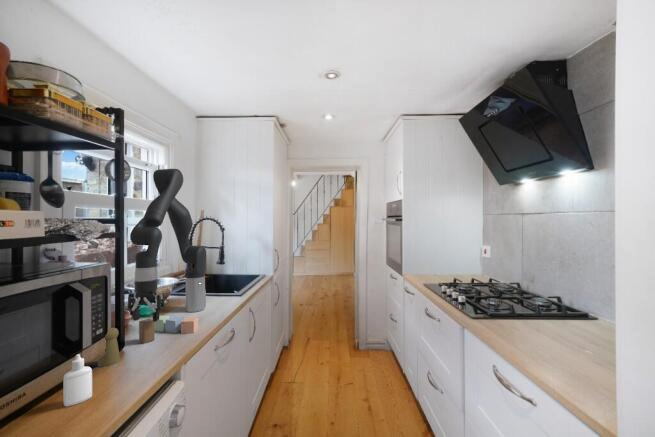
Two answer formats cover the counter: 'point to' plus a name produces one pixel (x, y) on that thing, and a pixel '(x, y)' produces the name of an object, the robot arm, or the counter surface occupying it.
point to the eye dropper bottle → (77, 383)
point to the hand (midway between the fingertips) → (145, 320)
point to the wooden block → (146, 330)
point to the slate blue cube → (174, 324)
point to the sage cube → (161, 323)
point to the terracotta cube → (189, 325)
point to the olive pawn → (110, 349)
